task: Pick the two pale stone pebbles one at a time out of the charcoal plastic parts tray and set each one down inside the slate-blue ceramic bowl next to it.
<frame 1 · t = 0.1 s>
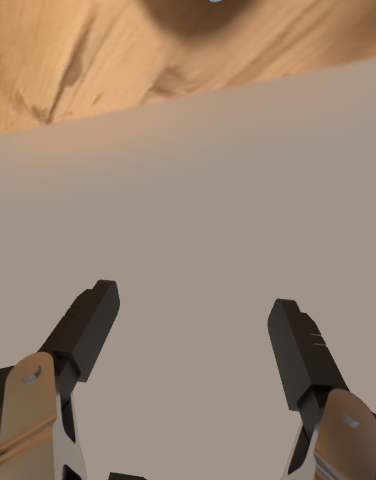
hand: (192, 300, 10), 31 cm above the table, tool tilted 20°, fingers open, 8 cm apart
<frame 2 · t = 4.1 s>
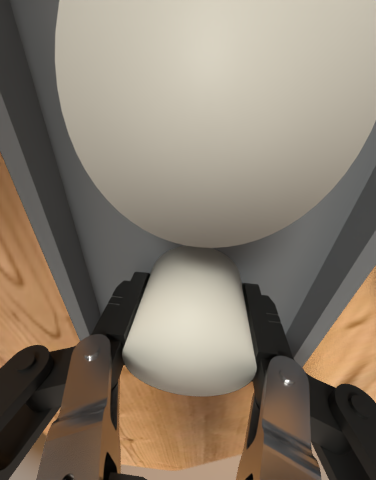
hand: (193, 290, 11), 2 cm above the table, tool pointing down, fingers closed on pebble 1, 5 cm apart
parts tray: (201, 209, 10), on the table
pebble 1: (195, 282, 11), point 1 cm above the table, touching gripper, parts tray
pebble 2: (210, 115, 7), point 1 cm above the table, touching parts tray
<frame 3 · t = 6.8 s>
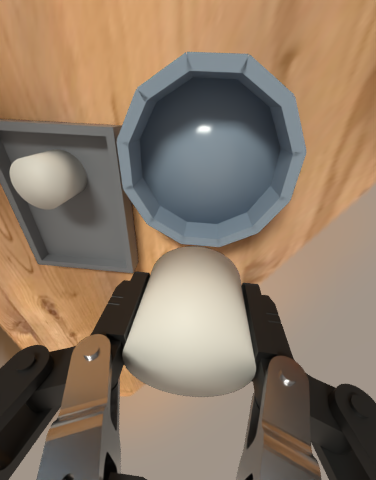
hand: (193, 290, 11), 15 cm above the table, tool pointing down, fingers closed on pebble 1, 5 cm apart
parts tray: (78, 202, 26), on the table
pebble 1: (194, 282, 11), point 15 cm above the table, touching gripper
pebble 2: (65, 173, 23), point 1 cm above the table, touching parts tray
bowl: (207, 161, 22), on the table
when the fingers open (3 cm above the table, at t = 9.6 s): pebble 1 drops 2 cm, resting on bowl.
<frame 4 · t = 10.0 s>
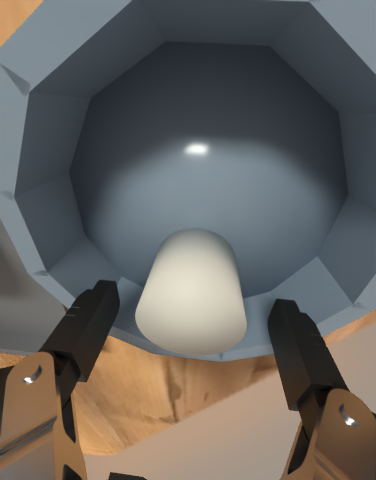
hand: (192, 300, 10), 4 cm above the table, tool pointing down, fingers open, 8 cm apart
pebble 1: (195, 262, 13), point 1 cm above the table, touching bowl
bowl: (201, 209, 12), on the table
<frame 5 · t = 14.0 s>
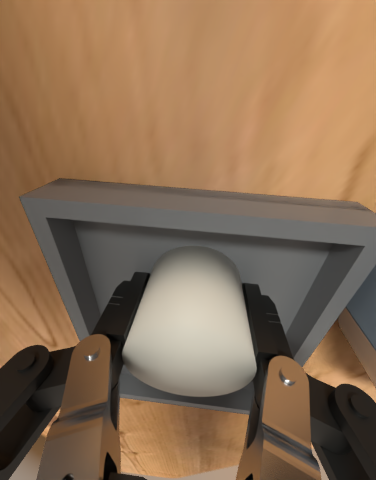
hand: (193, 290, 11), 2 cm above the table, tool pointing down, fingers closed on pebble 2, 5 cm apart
parts tray: (191, 312, 14), on the table
pebble 2: (195, 282, 11), point 1 cm above the table, touching gripper, parts tray
when the fingers open (3 cm above the table, at t = 19.5 s): pebble 2 drops 2 cm, resting on bowl.
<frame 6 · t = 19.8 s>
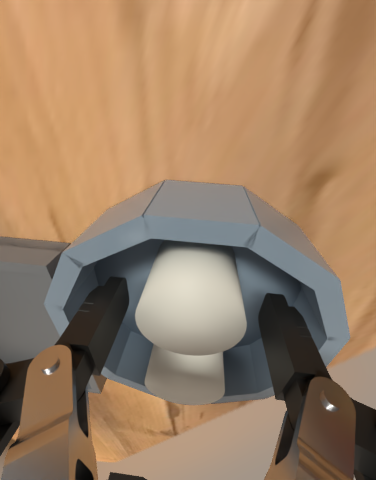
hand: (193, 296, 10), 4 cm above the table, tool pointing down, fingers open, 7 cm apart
parts tray: (24, 313, 19), on the table
pebble 1: (190, 324, 16), point 1 cm above the table, touching bowl
pebble 2: (195, 262, 13), point 1 cm above the table, touching bowl
bowl: (194, 286, 15), on the table
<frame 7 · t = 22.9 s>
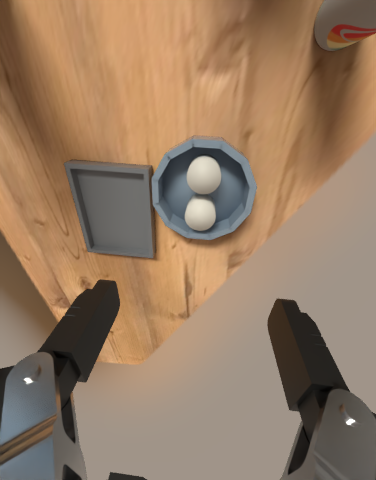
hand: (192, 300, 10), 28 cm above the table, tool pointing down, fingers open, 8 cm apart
parts tray: (118, 210, 40), on the table
pebble 1: (201, 206, 36), point 1 cm above the table, touching bowl
lotion bottle: (338, 20, 24), on the table
pebble 2: (204, 170, 33), point 1 cm above the table, touching bowl
bowl: (203, 187, 36), on the table
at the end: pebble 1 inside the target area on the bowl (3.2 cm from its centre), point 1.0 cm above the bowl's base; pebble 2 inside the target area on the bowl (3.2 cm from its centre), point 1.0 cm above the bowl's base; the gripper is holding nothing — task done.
